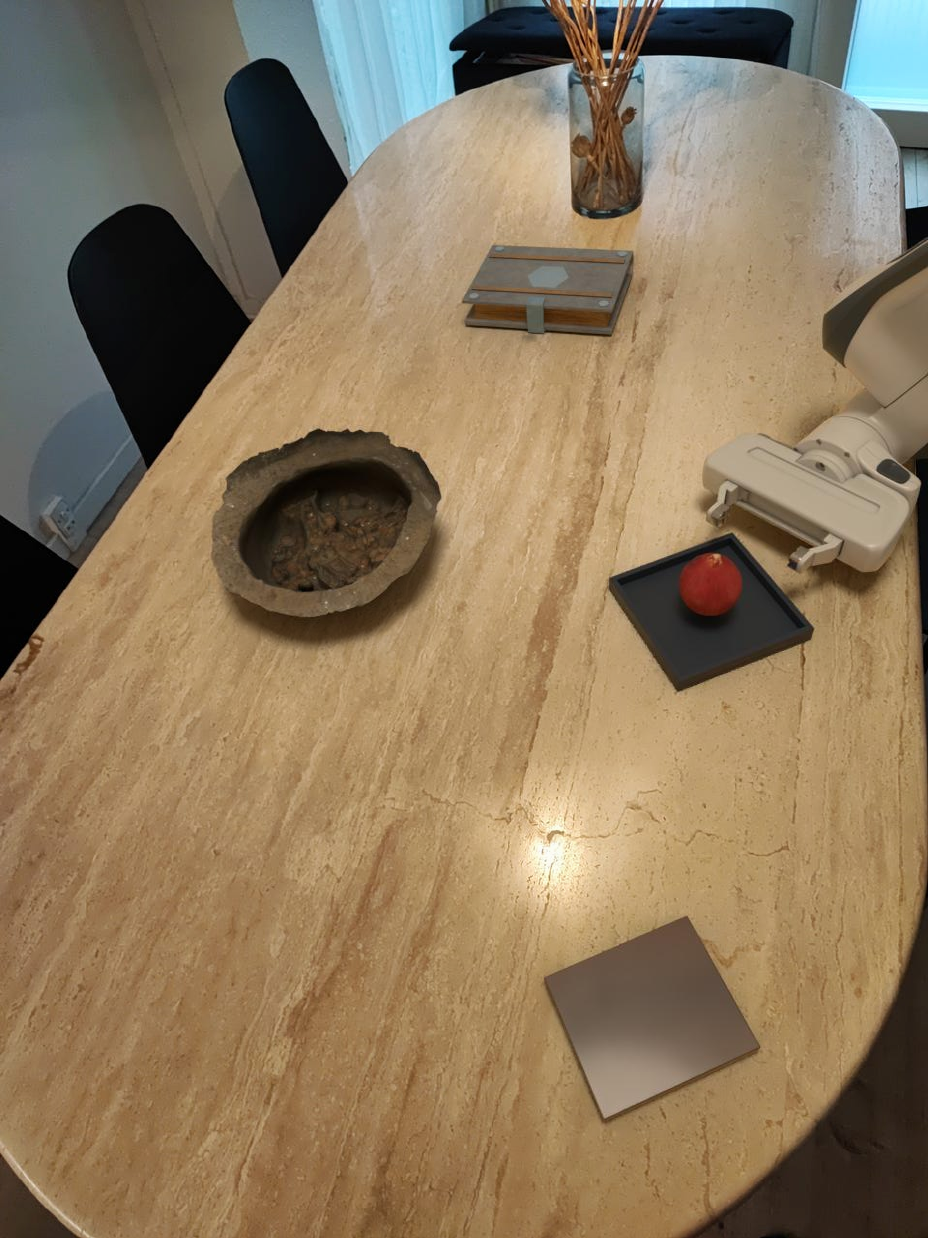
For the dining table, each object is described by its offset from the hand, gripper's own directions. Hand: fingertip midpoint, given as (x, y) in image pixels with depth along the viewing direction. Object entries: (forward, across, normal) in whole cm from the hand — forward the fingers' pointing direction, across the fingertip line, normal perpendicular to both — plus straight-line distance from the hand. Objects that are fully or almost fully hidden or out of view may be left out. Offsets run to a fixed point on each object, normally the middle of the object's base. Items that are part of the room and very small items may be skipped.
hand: (752, 542), depth 83 cm
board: (+39, +20, +6) cm, 44 cm away
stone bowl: (+27, -34, +5) cm, 44 cm away
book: (-26, -52, +5) cm, 58 cm away
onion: (+6, 0, +5) cm, 8 cm away
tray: (+6, 0, +5) cm, 8 cm away
